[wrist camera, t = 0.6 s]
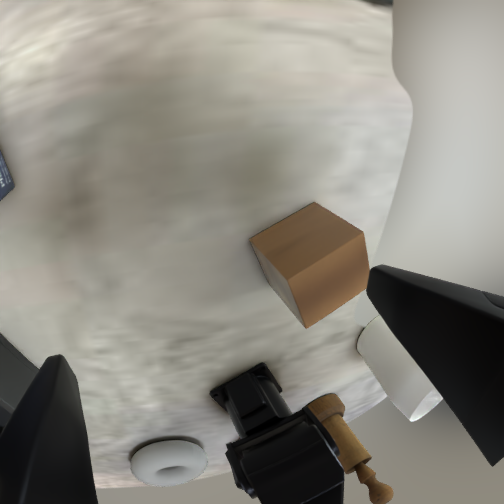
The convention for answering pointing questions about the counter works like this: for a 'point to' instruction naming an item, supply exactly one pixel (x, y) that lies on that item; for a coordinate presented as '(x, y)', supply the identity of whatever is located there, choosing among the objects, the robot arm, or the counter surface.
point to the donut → (169, 463)
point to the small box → (5, 179)
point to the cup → (397, 371)
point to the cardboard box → (313, 262)
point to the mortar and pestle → (349, 446)
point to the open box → (12, 379)
